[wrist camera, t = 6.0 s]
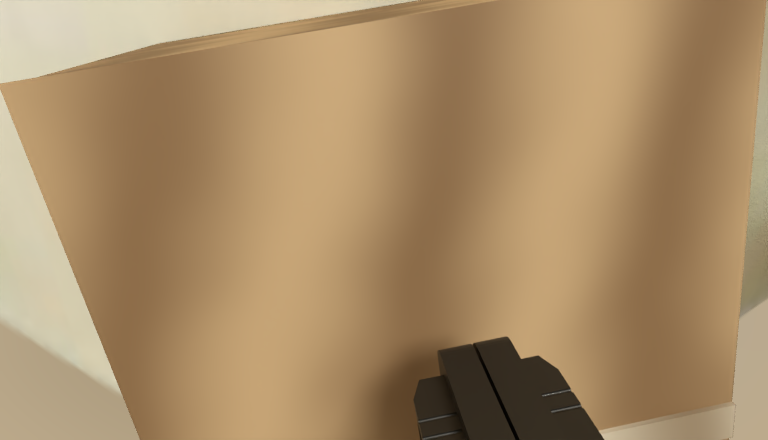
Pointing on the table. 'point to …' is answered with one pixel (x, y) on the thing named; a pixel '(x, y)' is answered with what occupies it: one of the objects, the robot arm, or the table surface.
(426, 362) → the lid
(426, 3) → the brown wooden box
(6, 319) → the table surface
